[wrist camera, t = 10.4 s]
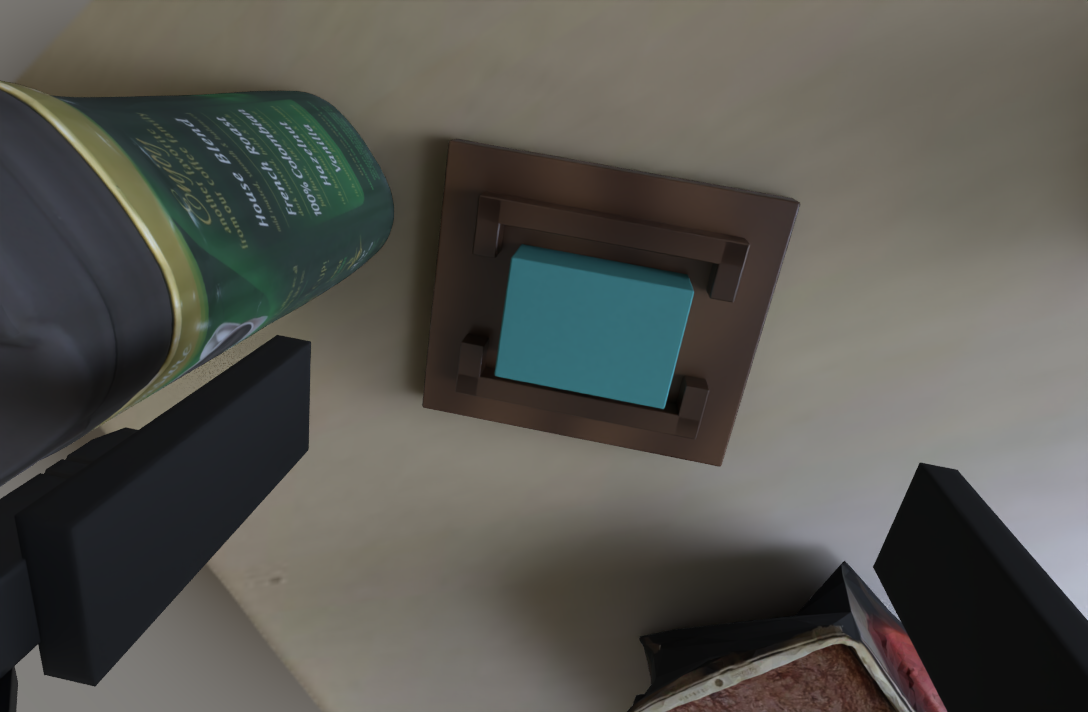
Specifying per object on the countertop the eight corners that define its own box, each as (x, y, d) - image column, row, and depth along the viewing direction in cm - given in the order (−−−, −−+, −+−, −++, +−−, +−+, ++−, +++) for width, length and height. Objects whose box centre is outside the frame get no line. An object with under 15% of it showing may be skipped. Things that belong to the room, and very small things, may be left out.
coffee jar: (316, 56, 27) (-253, -34, 9) (428, 224, 29) (125, 406, 11) (156, 184, 29) (-513, 296, 12) (267, 329, 31) (-173, 605, 14)
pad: (504, 354, 29) (493, 376, 27) (521, 243, 27) (510, 257, 25) (661, 384, 29) (664, 410, 26) (688, 274, 27) (694, 291, 24)
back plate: (428, 397, 32) (413, 419, 29) (455, 138, 27) (440, 141, 25) (717, 454, 31) (725, 481, 29) (794, 198, 26) (809, 207, 24)
